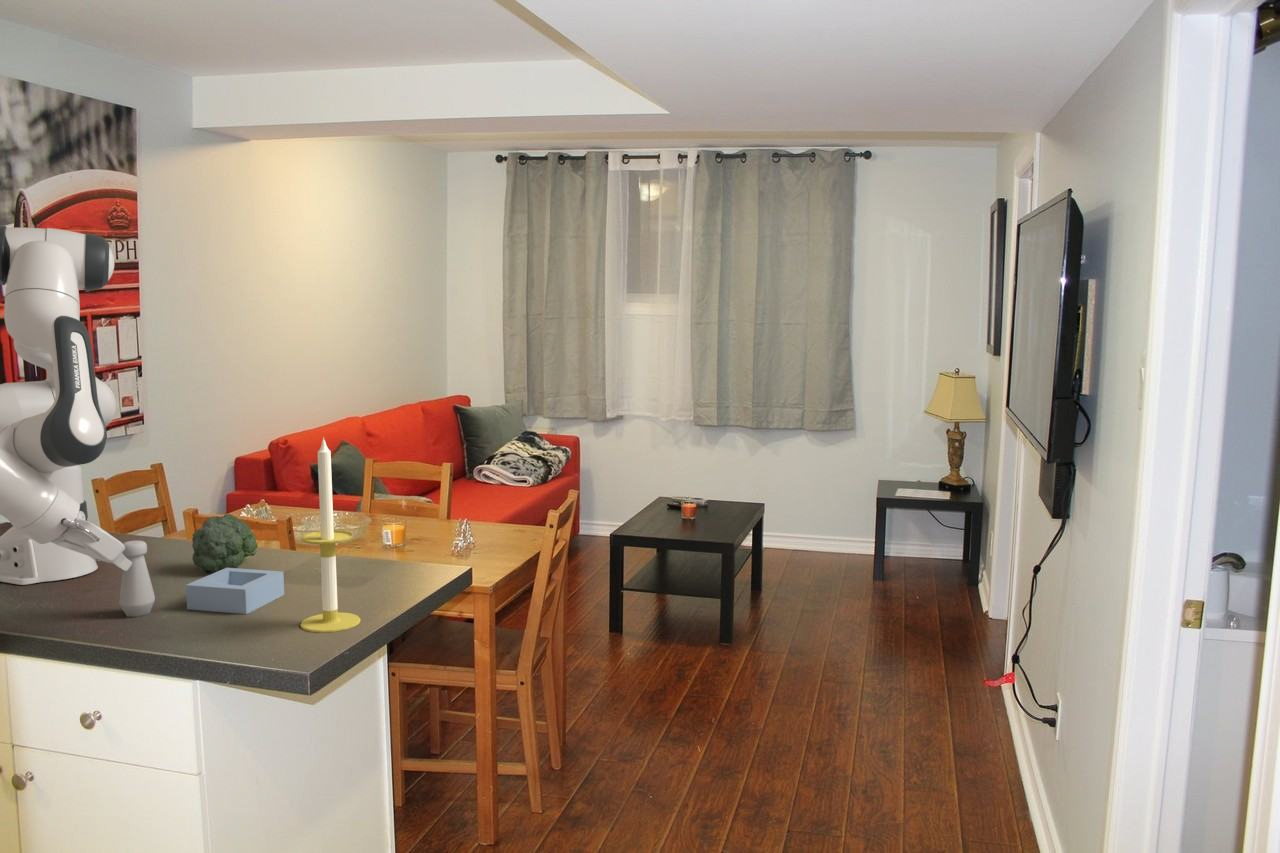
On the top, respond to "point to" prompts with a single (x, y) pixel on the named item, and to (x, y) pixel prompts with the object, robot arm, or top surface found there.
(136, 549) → the salt shaker
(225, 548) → the vegetable
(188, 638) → the top surface
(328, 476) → the candle
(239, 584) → the container
